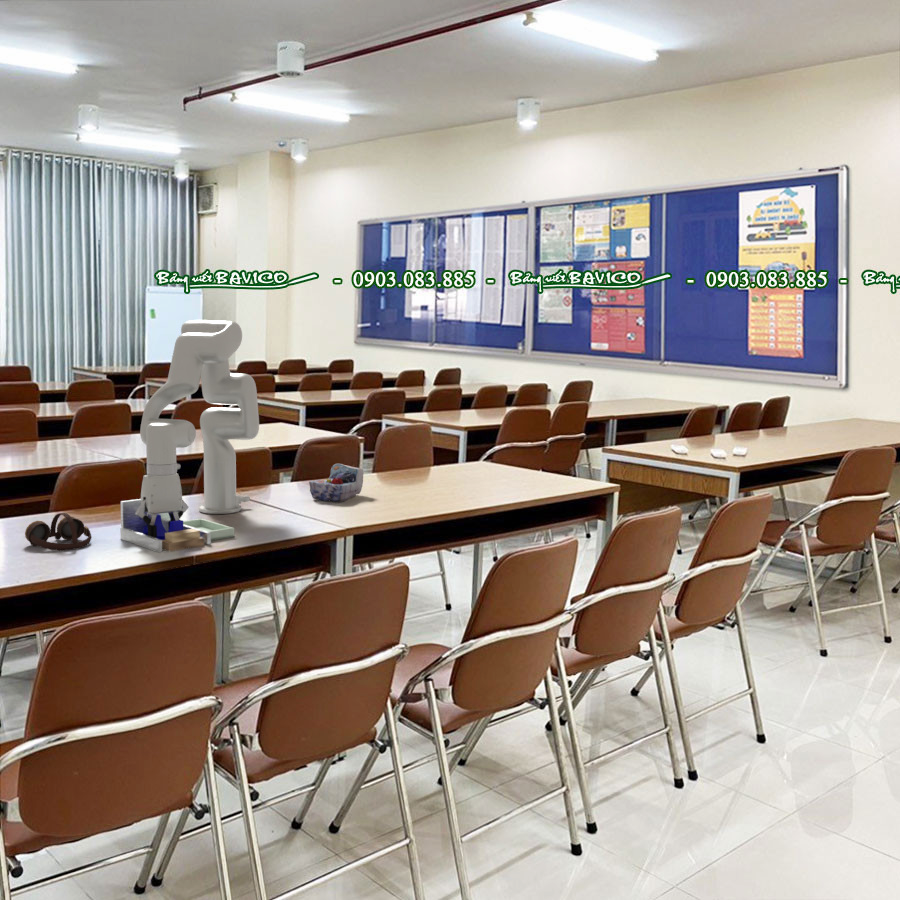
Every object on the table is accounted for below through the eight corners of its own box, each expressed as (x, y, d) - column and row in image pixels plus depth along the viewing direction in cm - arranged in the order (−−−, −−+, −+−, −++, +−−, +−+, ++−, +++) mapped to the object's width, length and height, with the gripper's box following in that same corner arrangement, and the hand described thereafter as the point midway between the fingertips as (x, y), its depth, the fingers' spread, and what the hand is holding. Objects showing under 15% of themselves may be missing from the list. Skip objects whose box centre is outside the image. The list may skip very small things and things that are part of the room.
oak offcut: (192, 536, 267) (192, 528, 266) (199, 538, 264) (199, 530, 264) (165, 540, 261) (164, 533, 261) (172, 543, 258) (172, 535, 258)
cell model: (367, 463, 343) (340, 473, 324) (367, 495, 344) (340, 506, 326) (332, 460, 347) (304, 469, 329) (332, 491, 349) (304, 502, 330)
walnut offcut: (194, 544, 268) (194, 535, 268) (203, 547, 265) (203, 538, 265) (160, 550, 261) (159, 540, 261) (169, 553, 258) (168, 543, 258)
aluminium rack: (170, 531, 281) (169, 495, 280) (210, 543, 267) (210, 506, 266) (119, 538, 271) (118, 501, 270) (158, 552, 257) (157, 513, 255)
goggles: (76, 535, 273) (80, 501, 270) (102, 554, 265) (105, 519, 262) (20, 544, 261) (23, 508, 258) (45, 564, 253) (49, 527, 251)
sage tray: (201, 527, 287) (201, 518, 287) (234, 537, 276) (234, 527, 275) (174, 531, 281) (174, 522, 281) (206, 541, 270) (206, 532, 269)
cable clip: (143, 538, 272) (142, 516, 272) (158, 535, 276) (157, 514, 275) (168, 545, 265) (168, 523, 264) (183, 543, 268) (183, 520, 267)
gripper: (183, 465, 276) (184, 531, 278) (124, 471, 264) (125, 539, 267) (198, 468, 271) (198, 535, 273) (138, 474, 259) (140, 544, 261)
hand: (162, 537), depth 270 cm, fingers open, 5 cm apart
